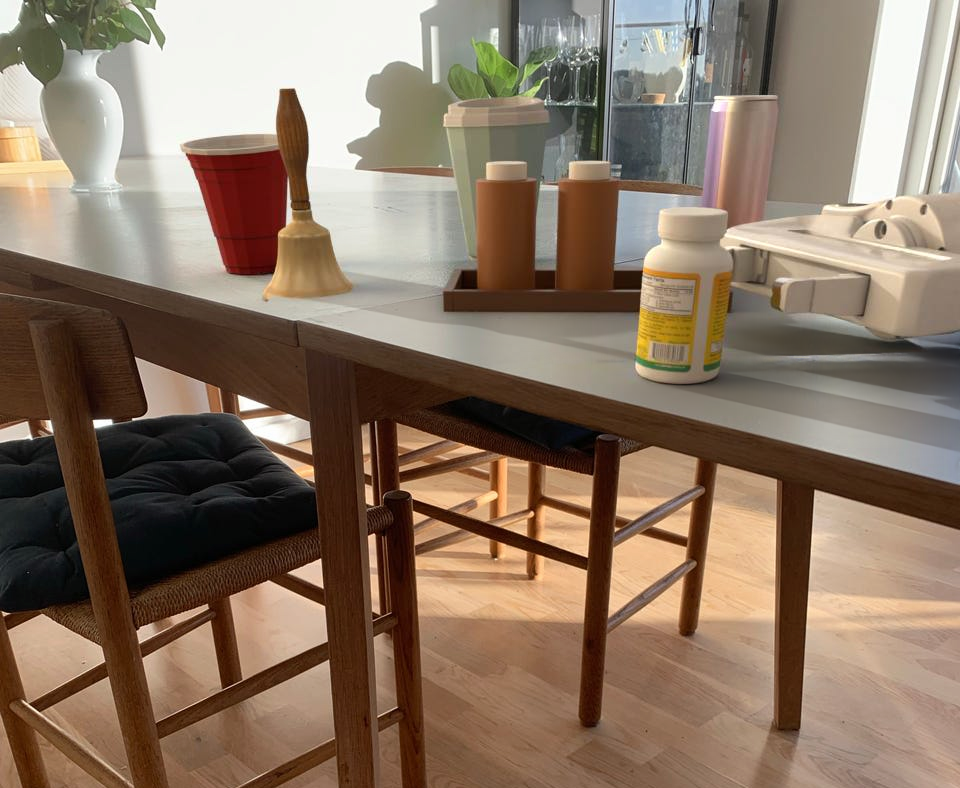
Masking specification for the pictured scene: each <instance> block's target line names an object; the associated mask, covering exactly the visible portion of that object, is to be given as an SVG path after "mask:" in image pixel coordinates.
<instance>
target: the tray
mask: <svg viewBox="0 0 960 788" xmlns="http://www.w3.org/2000/svg"><path fill="white" fill-rule="evenodd" d="M555 277H556V268H535V290H477V268H453V270H452V272H451V274H450V276H449V279H448V281H447V282H446V285H445V287H444V288H443V291H442V306H443V312H444V313H473V312H474V313H640V302H641V289H642V277H643V268H614V280H613V290H555ZM733 297H734V291H733V290H732V289H731V288H730V294H729V301H728V309H727V314H731V311H732V305H733Z"/></svg>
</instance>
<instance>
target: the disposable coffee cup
mask: <svg viewBox="0 0 960 788" xmlns="http://www.w3.org/2000/svg"><path fill="white" fill-rule="evenodd" d="M447 110H448V111H447V112H446V113H444V115H443V125H442V126H443V127H445V129H446V136H447V142H448V147H449V148H448V149H449V153H450V159H451V164H452V165H451V166H452V171H453V175H454V176H453V177H454V182H455V183H454V184H455V187H456V194H457V201H458V205H459V211H460V218H461V224H462V229H463V236H464V239H465V240H464V241H465V245H466V252H467V255H468V256H469V259H470V261H471V262H477V194H476V180H477V179H481V178H486V164H487V163H488V162H497V161H519V162H526V163H527V178H534V179H537V198H536V216H537V214H538V205H539V199H540V189H541V181H542V174H543V167H544V158H545V149H546V142H547V134H548V126H549V123H551V120H550V111H549V110H548V109H545V101H543V100H542V99H541V98H540V97H532V96H530V97H529V96H503V97H502V96H499V97H479V98H473V99H466V100H459V101H457V102H453V103H450V104H448V105H447Z"/></svg>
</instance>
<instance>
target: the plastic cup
mask: <svg viewBox="0 0 960 788" xmlns="http://www.w3.org/2000/svg"><path fill="white" fill-rule="evenodd" d="M179 148H180V151H181V152H182V153H184V155H185V157H186V159H187V161H189V164H190V168H191V169H192V170H193V174H194V177H195V179H196V181H197V183H198V186H199V189H200V193H201V196H202V199H203V203H204V207H205V210H206V214H207V217H208V220H209V223H210V226H211V230H212V233H213V237H214V238H215V239H216V242H217V247H218V250H219V254H220V258H221V260H222V264H223V266H224V268H225V272H227V273H230V274H234V275H258V274H259V275H263V274H268V273H269V274H270V273H271V274H272V273H275V269H276V265H277V259H278V234H279V231H280V230H282V229H283V228H285V227H286V226H287V212H288V211H287V210H288V188H289V180H288V174H287V170H286V167H285V164H284V162H283V159H282V156H281V153H280V150H279V146H278V140H277V133H249V134H248V133H246V134H244V133H243V134H230V135H229V134H228V135H220V136H219V135H218V136H212V137H211V136H210V137H204V138H198V139H193V140H188V141H186V142H183V143H181V144H179Z"/></svg>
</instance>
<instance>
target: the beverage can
mask: <svg viewBox="0 0 960 788" xmlns="http://www.w3.org/2000/svg"><path fill="white" fill-rule="evenodd" d="M713 100H714V102H713V105H712V107H711V109H710V116H709V125H708V136H707V146H706V156H705V166H704V174H703V175H704V176H703V184H702V185H703V186H702V195H701V203H700V207H702V208H714V209H721V210H725V211H727V212H728V220H727V229H729V228H731V227H734V226H737V225H742V224H748V223H754V222H760V221H765V215H766V214H765V213H766V206H767V199H768V198H767V197H768V190H769V185H770V184H769V183H770V175H771V168H772V161H773V160H772V159H773V155H774V154H773V152H774V145H775V139H776V138H775V137H776V130H777V123H778V117H779V108H778V107H779V106H778V95H771V94H769V95H768V94H767V95H764V94H763V95H761V94H760V95H758V94H757V95H755V94H754V95H749V94H748V95H715V96H714V97H713Z"/></svg>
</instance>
